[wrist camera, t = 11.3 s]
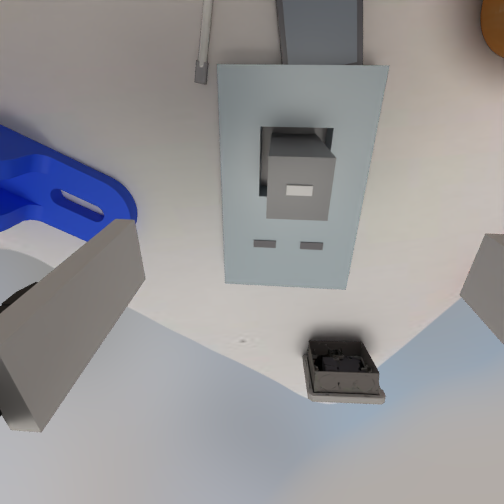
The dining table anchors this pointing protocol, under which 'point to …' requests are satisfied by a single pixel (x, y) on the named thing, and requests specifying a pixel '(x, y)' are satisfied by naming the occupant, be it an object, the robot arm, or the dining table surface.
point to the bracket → (56, 189)
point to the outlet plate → (256, 167)
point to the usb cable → (204, 43)
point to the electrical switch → (341, 374)
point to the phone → (321, 32)
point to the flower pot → (493, 25)
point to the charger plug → (299, 177)
